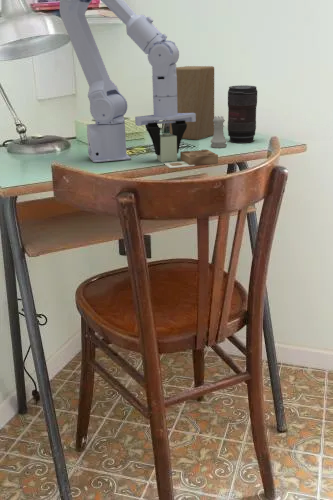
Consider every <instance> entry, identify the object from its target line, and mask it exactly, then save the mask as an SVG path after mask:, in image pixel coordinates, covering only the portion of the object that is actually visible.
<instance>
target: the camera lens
mask: <svg viewBox="0 0 333 500" xmlns="http://www.w3.org/2000/svg"><path fill="white" fill-rule="evenodd" d="M257 105H258V89H257V86H255V85H249V84H248V85H246V84H245V85H242V84H241V85H240V84H239V85H231V86H228V90H227V111H228V112H227V134H228V136H229V142H231V143H235V144H243V143H244V144H245V143H253V142H254V137H255V136H256V129H257Z"/></svg>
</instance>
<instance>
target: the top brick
mask: <svg viewBox="0 0 333 500" xmlns="http://www.w3.org/2000/svg"><path fill="white" fill-rule="evenodd" d="M157 159H158V160H157ZM156 160H157V161H159V162H160V161H161V162H162V163H166V162H165V161H172V162H178V153H177V136H175V135H173V134H170V132H168V133H167V132H165V133H162V134H160V155H156ZM161 162H160V163H161Z"/></svg>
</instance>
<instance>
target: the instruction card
mask: <svg viewBox="0 0 333 500" xmlns="http://www.w3.org/2000/svg"><path fill="white" fill-rule="evenodd" d="M164 164H165V166H166V167H167V168H169V169H175V168H188V167H195V166H196V165H189V164H188V163H186V162H184V161H172V162H163V165H164Z"/></svg>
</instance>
